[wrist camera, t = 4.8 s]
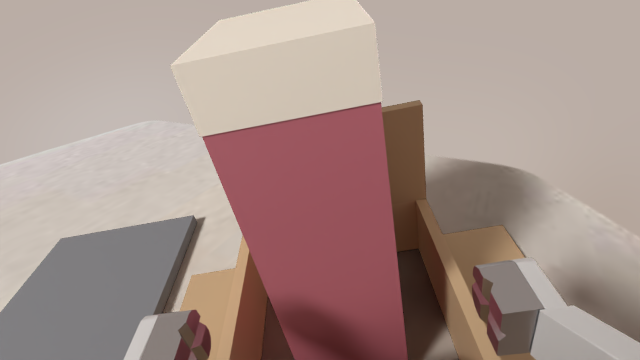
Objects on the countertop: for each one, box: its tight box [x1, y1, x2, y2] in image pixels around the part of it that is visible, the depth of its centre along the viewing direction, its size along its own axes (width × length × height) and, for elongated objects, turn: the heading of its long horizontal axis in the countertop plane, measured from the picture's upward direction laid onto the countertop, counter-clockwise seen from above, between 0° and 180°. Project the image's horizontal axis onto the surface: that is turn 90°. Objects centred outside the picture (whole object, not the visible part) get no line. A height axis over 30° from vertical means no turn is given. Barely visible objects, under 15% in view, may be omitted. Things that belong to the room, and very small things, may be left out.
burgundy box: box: [170, 0, 408, 360], centre depth 16 cm, size 5×6×16 cm
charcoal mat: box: [0, 215, 197, 360], centre depth 25 cm, size 12×16×1 cm
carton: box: [180, 100, 536, 360], centre depth 15 cm, size 21×16×10 cm
